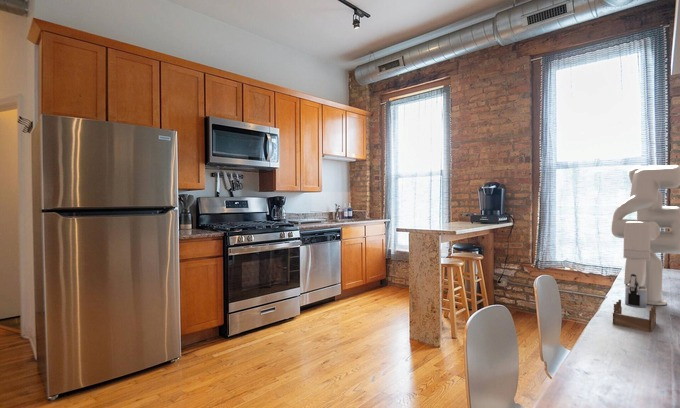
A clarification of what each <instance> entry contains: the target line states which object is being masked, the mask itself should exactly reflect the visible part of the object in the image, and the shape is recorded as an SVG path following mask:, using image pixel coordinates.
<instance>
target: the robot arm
mask: <svg viewBox="0 0 680 408" xmlns="http://www.w3.org/2000/svg"><path fill="white" fill-rule="evenodd" d="M628 177H629V180H630V183H631V189H630V194H629V198H628V199H626V200H624V202H622V203H620V205H619V206H618V207H616V209H615V211H614V213H613V217H612V221H611V234H612V235H613V236H614V237H615V238H617V239H623V256H622V257H623V258H624V259H626V260H625V267H624V280H623V281H624V282H623V283H624V285H629V293H628V304H630V305H635V306H639V305H640V295H639V287H641V286H643V287H646V288H647V295H646V305H652V306H666V305H667V304H668V301H667V300H665V299H663V272H664V271H663V268H664V267H663V266H664V265H663V262H662V259H661V258H660V257H659V256H658V255H657V254H658V253H659V254H669V255H680V206H676V205H675V206H674V205H673V206H670V205H669V206H668V205H663V200H664V196H663V193H662V192H661V191H660V189H677V188H679V187H680V164H679V165H678V164H670V165H669V164H667V165H645V166H643V165H642V166H636V167H633V168H631V169H630V170H629V173H628ZM635 212H637V213H636V219H627V218H626V219H624V218H625V217H626V216H628V215H629V214H632V213H635ZM661 229H669V230H670V231H663V230H661ZM635 285H637V286H635ZM636 288H637V289H636Z"/></svg>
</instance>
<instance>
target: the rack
mask: <svg viewBox="0 0 680 408" xmlns="http://www.w3.org/2000/svg"><path fill="white" fill-rule="evenodd" d="M622 309H623V307H622V300H621V299H618V301H615V303H613V312H612V325H615V326H620V327H625V328H630V329H634V330H638V331H643V332H648V333H652V332H653V330H654V328H655V326H656V325H657V305H652V307H651V308H650V310H649V312H648V313H649V314H648V319H647V318H641V317H638V316H637V317H636V316H633V315H626V314H622V311H623V310H622Z"/></svg>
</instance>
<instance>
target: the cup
mask: <svg viewBox="0 0 680 408" xmlns="http://www.w3.org/2000/svg"><path fill="white" fill-rule="evenodd" d="M624 285H625V284H624ZM635 286H637V285H635ZM624 287H625V291H624V292H625V293H624V296H625V297H624V305H625V306H628V307H631V308H635V309H646V308H647V304H646V295H647V288H646V287H643V286H641V287H639V295H640V305H639V306H635V305H630V304H628V293H629V284H628V285H625V286H624ZM636 289H637V288H636Z"/></svg>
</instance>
